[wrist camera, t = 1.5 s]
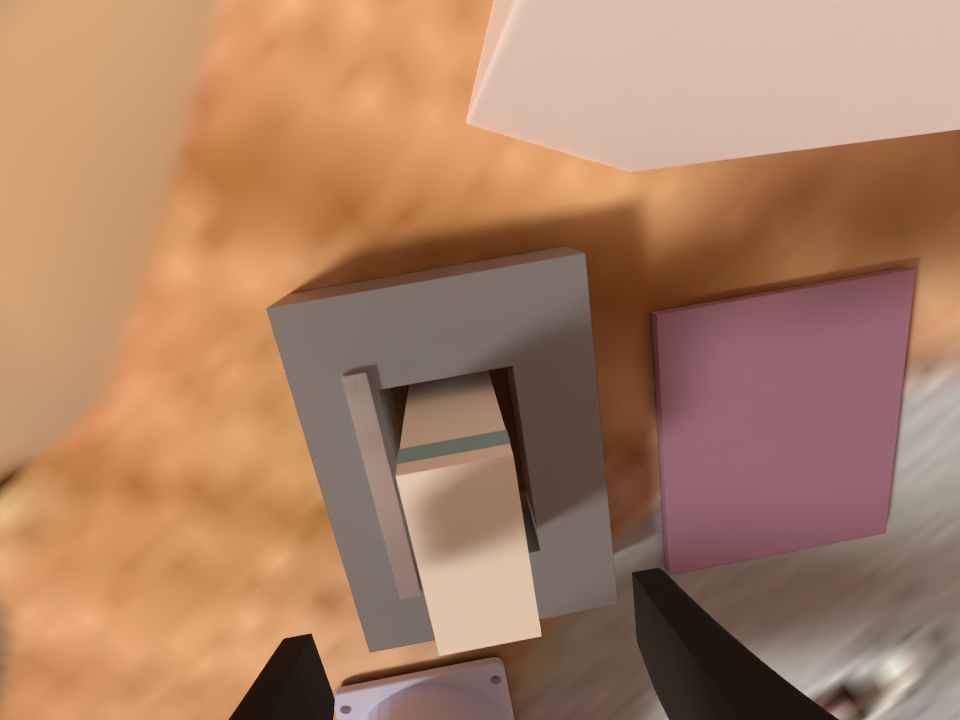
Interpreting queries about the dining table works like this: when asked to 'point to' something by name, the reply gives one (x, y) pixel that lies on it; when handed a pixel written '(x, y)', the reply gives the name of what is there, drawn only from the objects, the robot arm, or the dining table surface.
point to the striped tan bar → (465, 515)
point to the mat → (779, 417)
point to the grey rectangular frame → (441, 354)
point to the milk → (715, 76)
